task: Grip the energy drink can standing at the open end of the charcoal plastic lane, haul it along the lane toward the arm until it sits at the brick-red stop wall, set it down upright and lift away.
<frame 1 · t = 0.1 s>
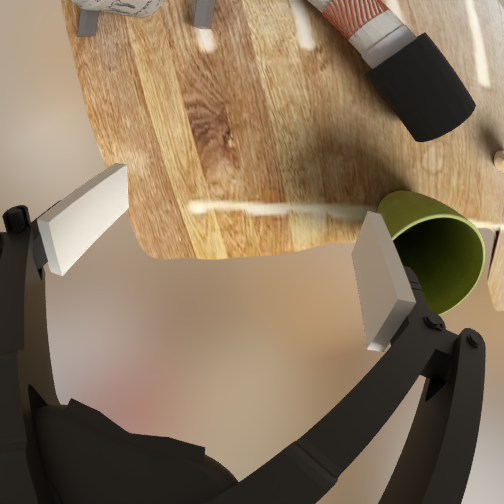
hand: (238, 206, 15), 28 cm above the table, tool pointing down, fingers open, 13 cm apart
energy drink can: (148, 1, 30), on the table
milkshake: (498, 160, 34), on the table
flower pot: (398, 210, 43), on the table
cable: (350, 18, 28), on the table
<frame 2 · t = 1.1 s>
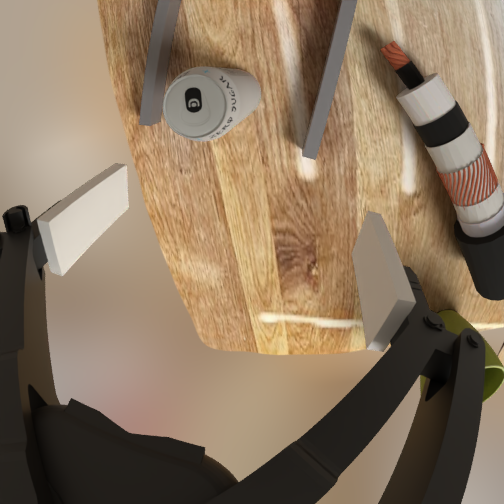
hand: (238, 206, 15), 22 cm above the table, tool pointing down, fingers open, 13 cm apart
guide lane: (246, 46, 28), on the table
energy drink can: (236, 93, 31), on the table
flower pot: (441, 322, 46), on the table
cable: (452, 162, 31), on the table
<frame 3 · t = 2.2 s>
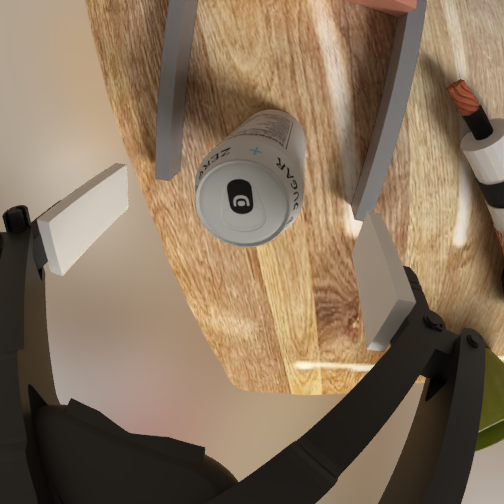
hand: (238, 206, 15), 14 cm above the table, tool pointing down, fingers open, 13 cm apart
guide lane: (283, 78, 23), on the table
energy drink can: (273, 138, 27), on the table
flower pot: (474, 358, 40), on the table
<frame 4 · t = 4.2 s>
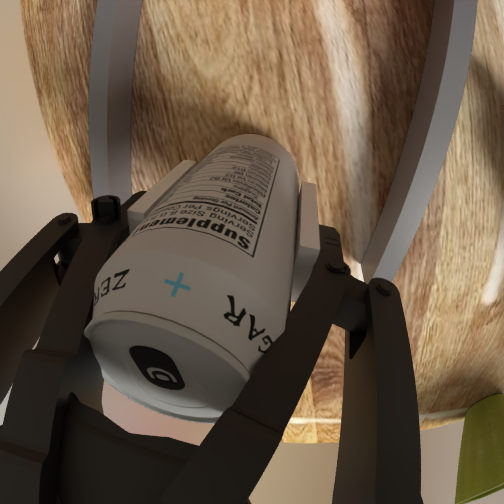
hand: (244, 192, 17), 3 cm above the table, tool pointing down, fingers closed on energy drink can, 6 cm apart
guide lane: (267, 85, 16), on the table
energy drink can: (253, 174, 19), on the table, touching gripper
flower pot: (485, 403, 32), on the table
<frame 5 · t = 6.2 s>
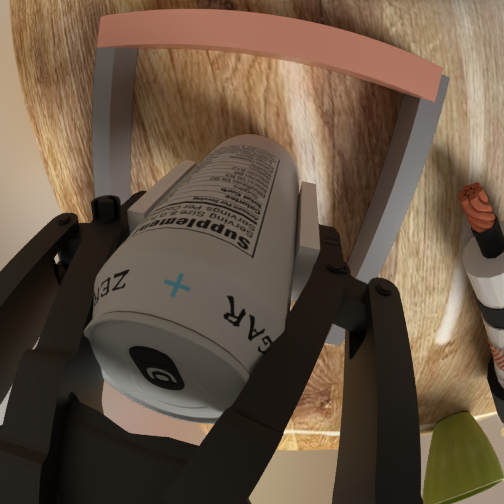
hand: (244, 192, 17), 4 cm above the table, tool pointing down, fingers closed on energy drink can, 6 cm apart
guide lane: (244, 183, 21), on the table
energy drink can: (253, 174, 19), point 1 cm above the table, touching gripper
flower pot: (452, 419, 38), on the table
cable: (502, 303, 23), on the table
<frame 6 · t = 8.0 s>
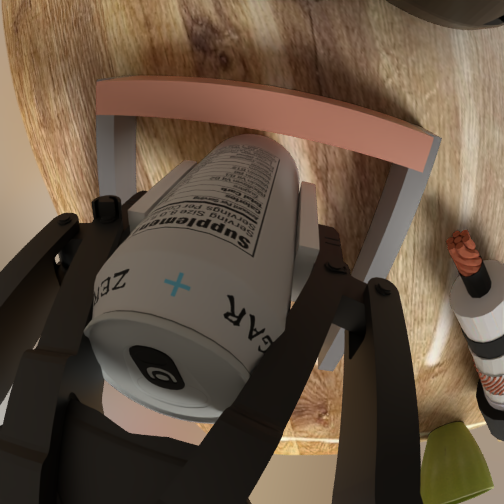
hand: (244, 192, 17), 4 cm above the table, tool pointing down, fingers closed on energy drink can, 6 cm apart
guide lane: (244, 233, 23), on the table
energy drink can: (253, 174, 19), point 1 cm above the table, touching gripper
flower pot: (446, 428, 39), on the table
cable: (491, 327, 25), on the table
when the fingers open (4 cm above the table, at t = 8.1 s): energy drink can stays where it is, on the table.
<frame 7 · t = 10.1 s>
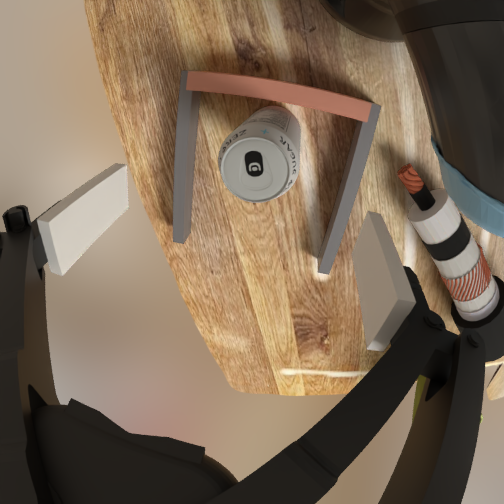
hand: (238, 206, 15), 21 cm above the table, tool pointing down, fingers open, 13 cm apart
guide lane: (266, 170, 35), on the table
energy drink can: (274, 129, 32), on the table
cable: (454, 252, 37), on the table
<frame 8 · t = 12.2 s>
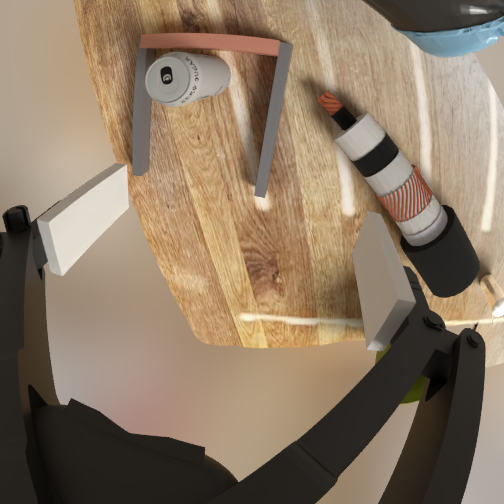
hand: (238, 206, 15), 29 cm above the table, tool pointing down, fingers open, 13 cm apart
guide lane: (207, 108, 39), on the table
energy drink can: (211, 75, 37), on the table
milkshake: (484, 281, 47), on the table
flower pot: (399, 320, 56), on the table
cable: (395, 181, 41), on the table
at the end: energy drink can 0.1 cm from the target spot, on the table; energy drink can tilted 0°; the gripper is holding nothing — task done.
